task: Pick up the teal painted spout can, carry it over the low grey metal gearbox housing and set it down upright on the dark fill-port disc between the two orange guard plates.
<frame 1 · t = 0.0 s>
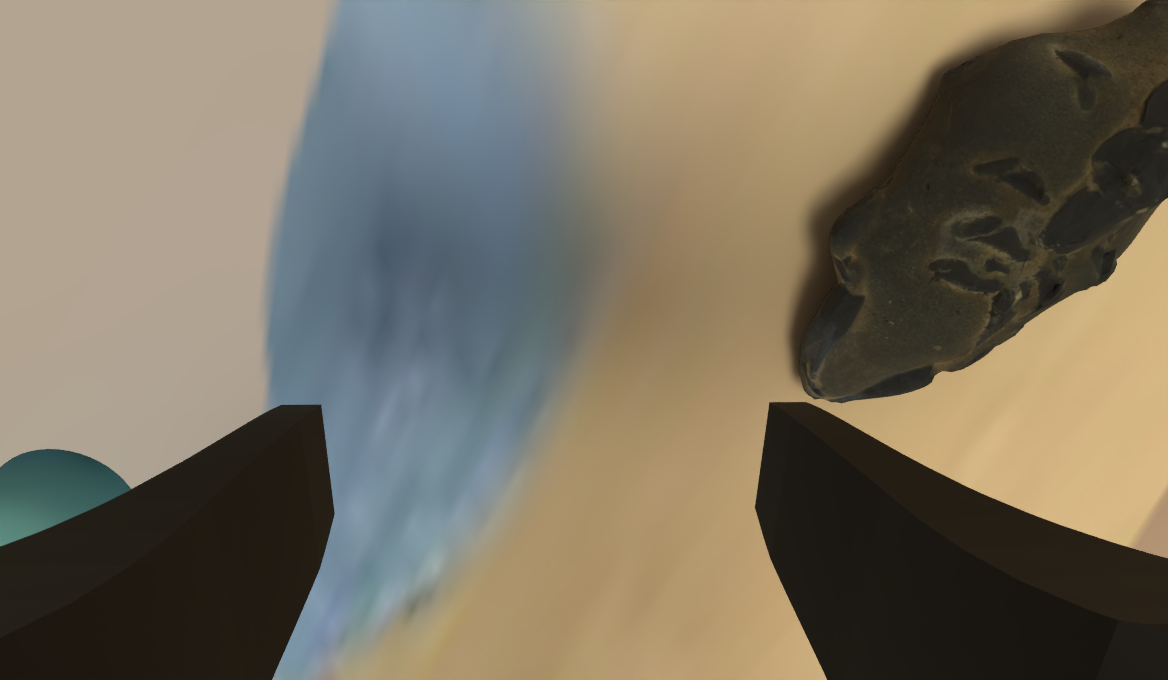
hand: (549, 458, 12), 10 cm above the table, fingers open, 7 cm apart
spout can: (66, 510, 23), on the table
stone: (951, 209, 22), on the table
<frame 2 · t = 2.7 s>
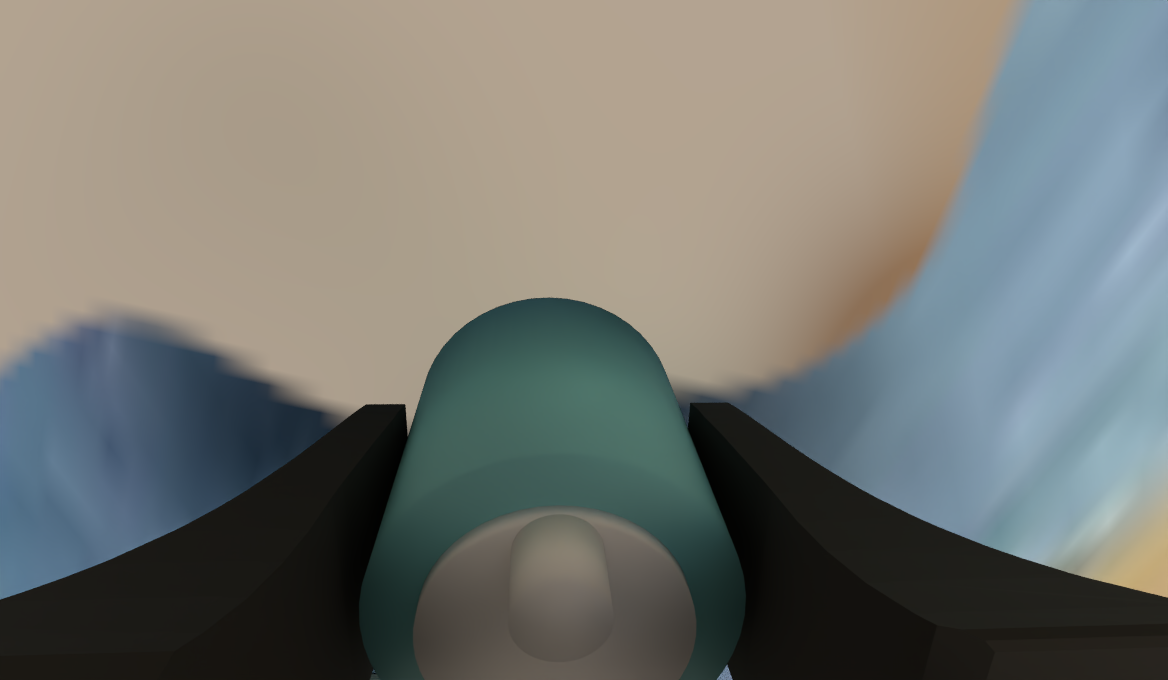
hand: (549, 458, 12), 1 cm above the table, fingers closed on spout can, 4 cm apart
spout can: (547, 416, 13), on the table, touching gripper
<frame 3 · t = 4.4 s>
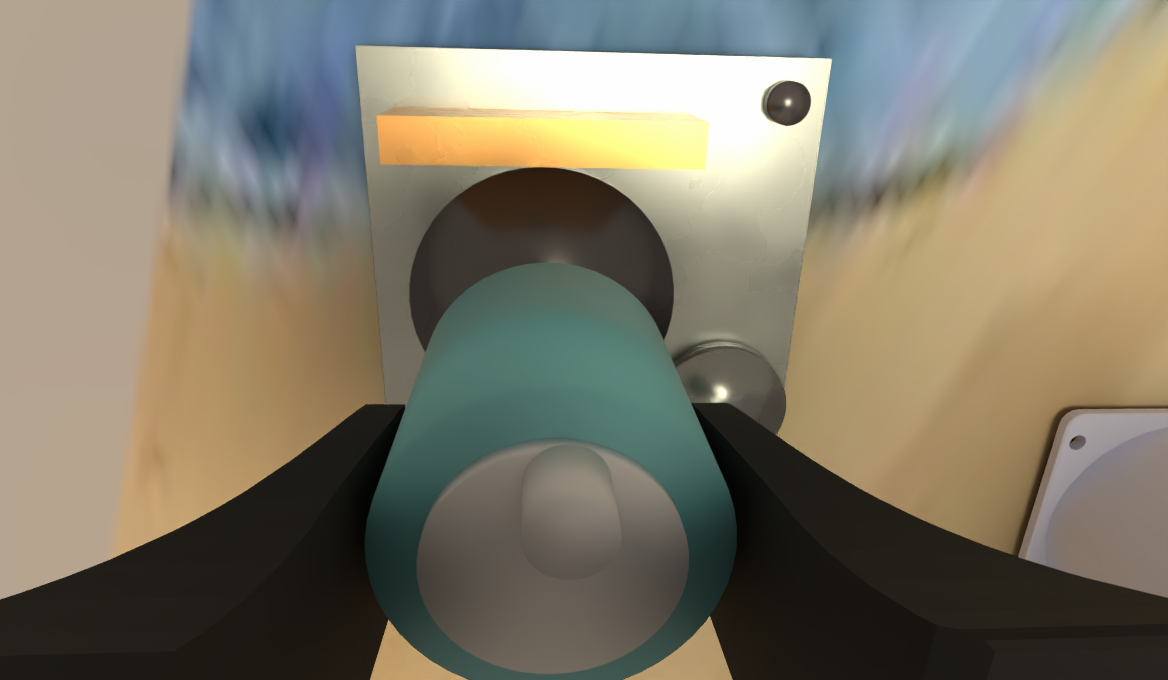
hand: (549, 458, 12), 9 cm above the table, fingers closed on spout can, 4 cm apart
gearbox: (587, 281, 21), on the table
spout can: (547, 380, 14), point 7 cm above the table, touching gripper
when the fingers open (4 cm above the table, at t = 6.2 s): spout can stays where it is, resting on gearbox.
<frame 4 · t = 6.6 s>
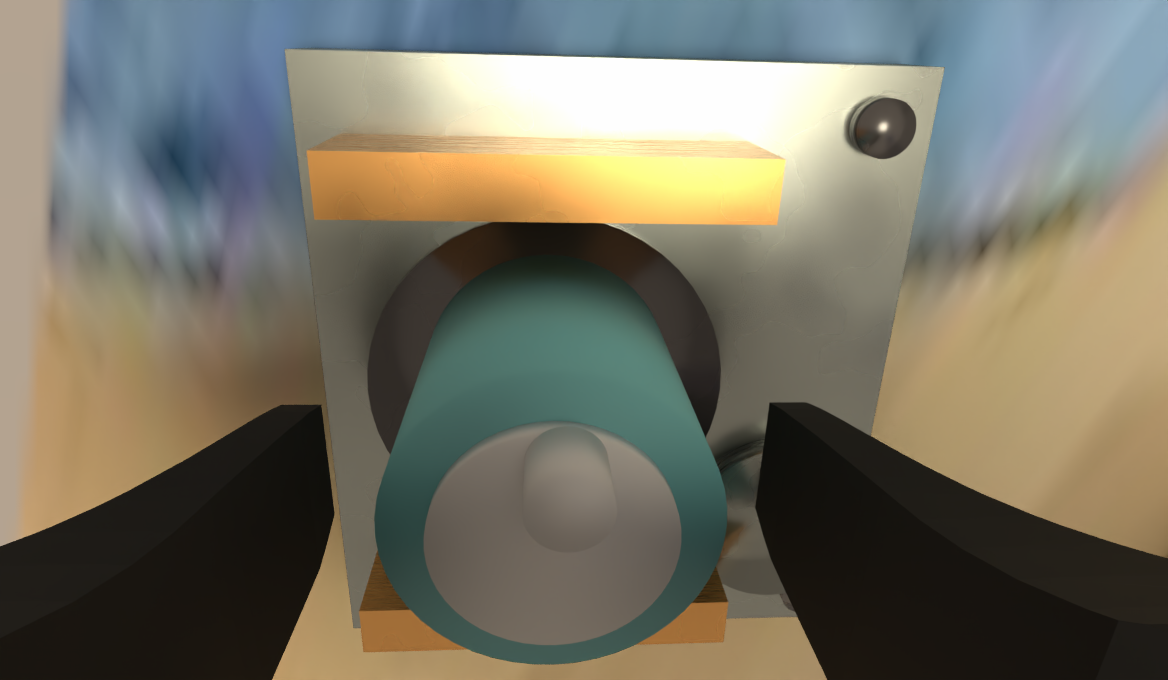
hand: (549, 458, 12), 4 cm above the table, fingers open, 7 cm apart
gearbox: (603, 354, 16), on the table
spout can: (547, 368, 14), point 2 cm above the table, touching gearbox
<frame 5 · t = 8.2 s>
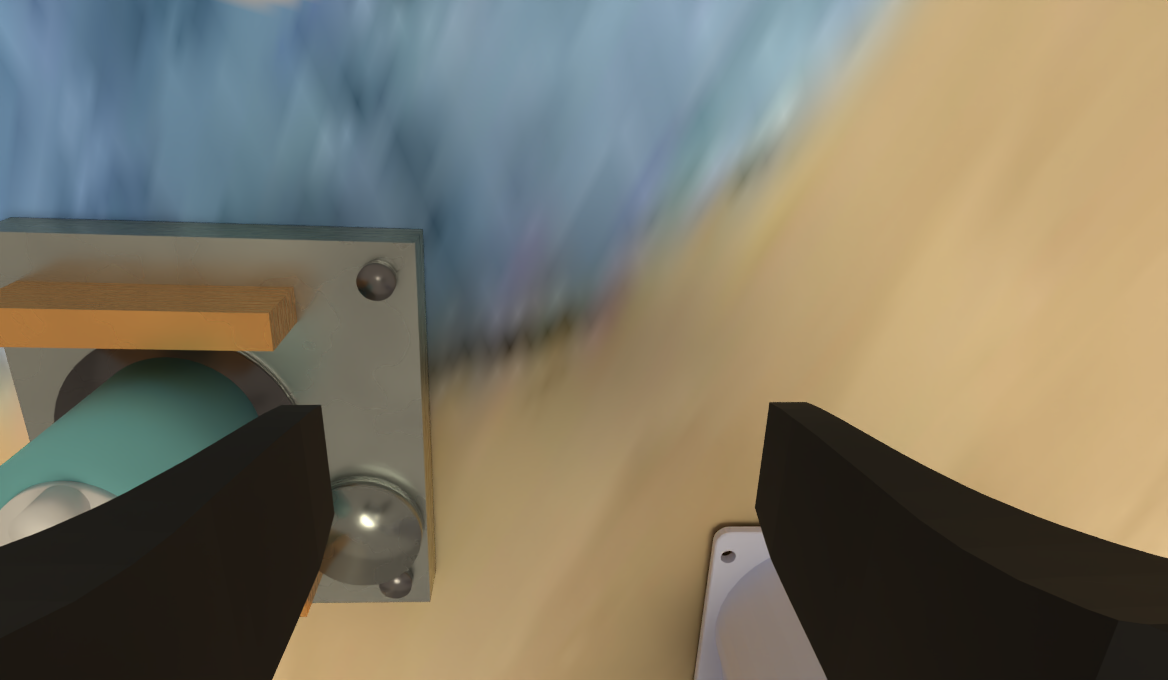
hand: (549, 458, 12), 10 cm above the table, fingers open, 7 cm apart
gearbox: (248, 415, 23), on the table
spout can: (180, 430, 21), point 2 cm above the table, touching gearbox
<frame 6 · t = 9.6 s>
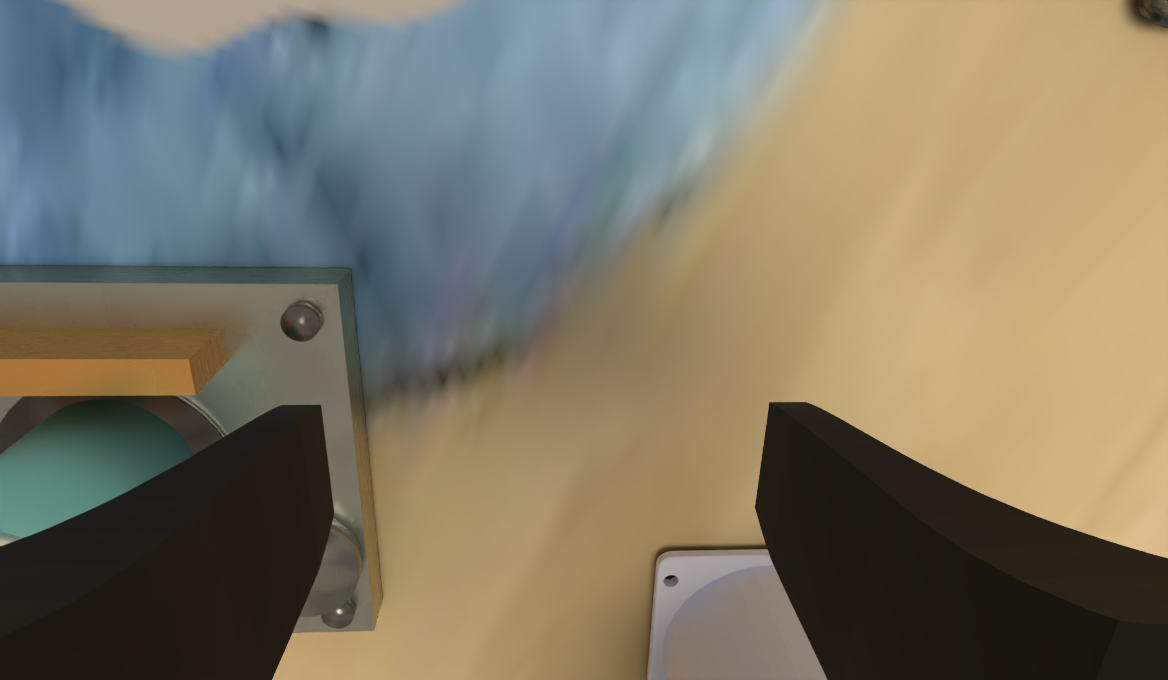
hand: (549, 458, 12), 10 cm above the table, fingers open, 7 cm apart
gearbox: (189, 451, 23), on the table
spout can: (116, 469, 21), point 2 cm above the table, touching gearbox
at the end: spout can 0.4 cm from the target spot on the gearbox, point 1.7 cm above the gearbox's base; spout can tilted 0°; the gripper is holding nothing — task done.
